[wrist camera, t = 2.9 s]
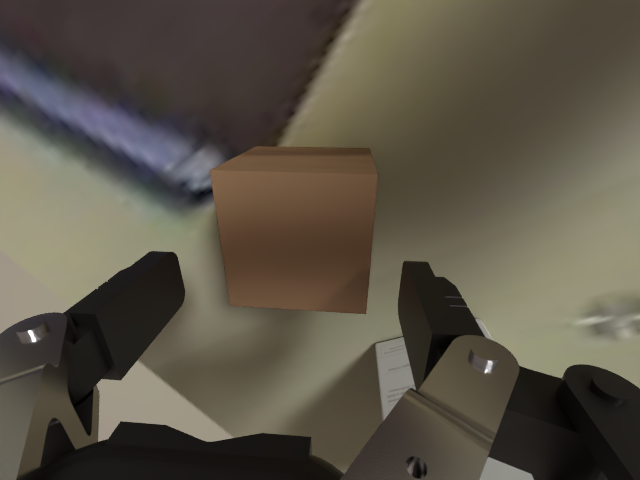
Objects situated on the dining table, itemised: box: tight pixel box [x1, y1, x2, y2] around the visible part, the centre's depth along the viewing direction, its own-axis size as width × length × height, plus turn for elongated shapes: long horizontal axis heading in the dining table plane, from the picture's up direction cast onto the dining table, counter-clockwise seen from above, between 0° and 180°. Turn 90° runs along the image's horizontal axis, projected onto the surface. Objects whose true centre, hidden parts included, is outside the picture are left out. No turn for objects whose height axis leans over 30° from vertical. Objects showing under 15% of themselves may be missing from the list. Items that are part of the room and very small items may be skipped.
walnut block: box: [210, 146, 378, 314], centre depth 15 cm, size 6×6×6 cm
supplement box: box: [375, 318, 534, 480], centre depth 16 cm, size 7×7×13 cm
